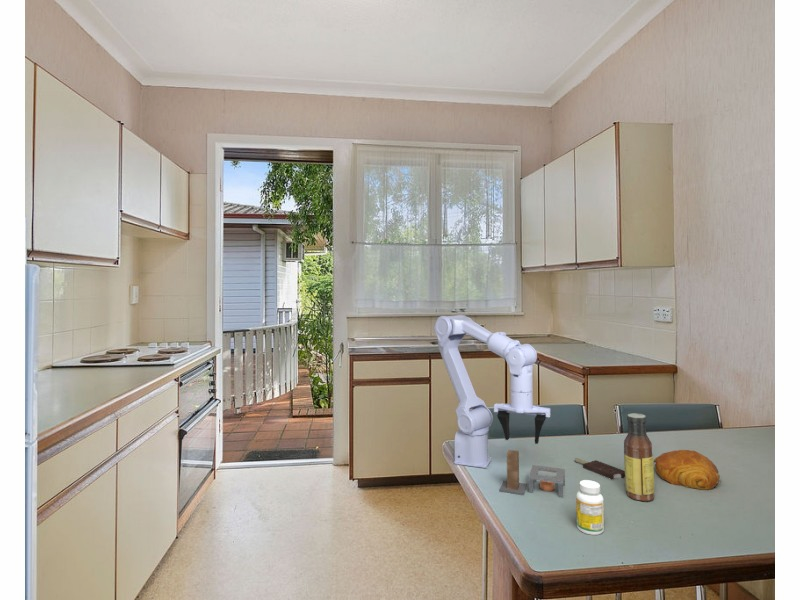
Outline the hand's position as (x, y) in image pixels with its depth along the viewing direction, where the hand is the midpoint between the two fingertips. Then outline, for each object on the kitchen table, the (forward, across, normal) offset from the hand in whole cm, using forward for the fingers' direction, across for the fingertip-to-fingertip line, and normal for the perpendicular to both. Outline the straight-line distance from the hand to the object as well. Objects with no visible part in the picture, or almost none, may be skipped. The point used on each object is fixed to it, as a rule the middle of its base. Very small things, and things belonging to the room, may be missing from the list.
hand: (521, 440), depth 122 cm
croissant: (+10, +40, +16) cm, 44 cm away
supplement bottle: (+10, +17, -21) cm, 29 cm away
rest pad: (+10, -1, -7) cm, 12 cm away
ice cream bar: (+11, +18, +14) cm, 25 cm away
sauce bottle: (+10, +28, -1) cm, 30 cm away
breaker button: (+11, +7, -4) cm, 14 cm away
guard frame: (+10, +7, -4) cm, 13 cm away
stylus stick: (+10, -1, -7) cm, 12 cm away
